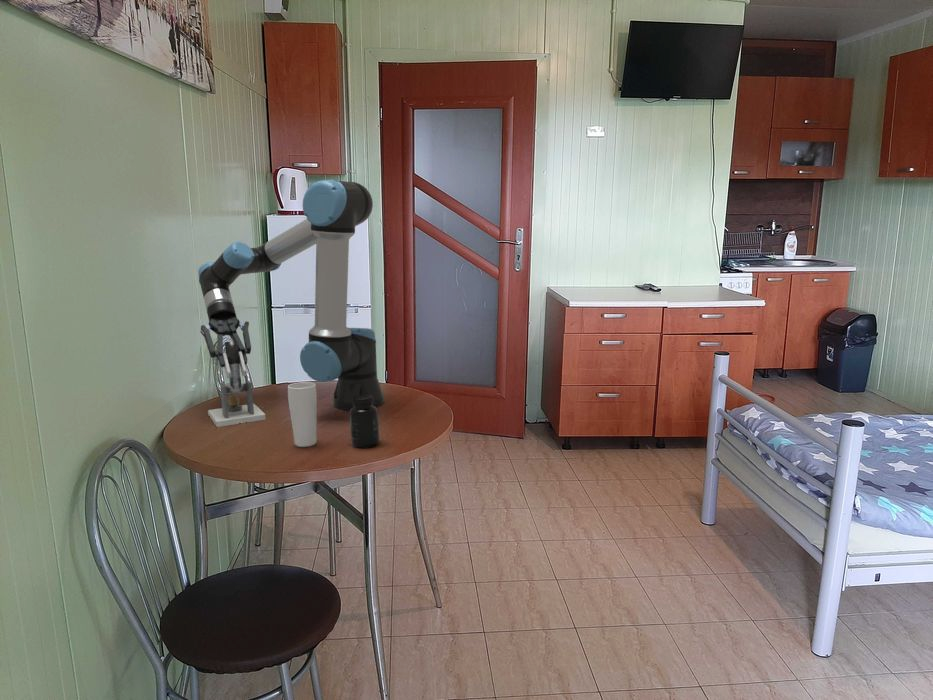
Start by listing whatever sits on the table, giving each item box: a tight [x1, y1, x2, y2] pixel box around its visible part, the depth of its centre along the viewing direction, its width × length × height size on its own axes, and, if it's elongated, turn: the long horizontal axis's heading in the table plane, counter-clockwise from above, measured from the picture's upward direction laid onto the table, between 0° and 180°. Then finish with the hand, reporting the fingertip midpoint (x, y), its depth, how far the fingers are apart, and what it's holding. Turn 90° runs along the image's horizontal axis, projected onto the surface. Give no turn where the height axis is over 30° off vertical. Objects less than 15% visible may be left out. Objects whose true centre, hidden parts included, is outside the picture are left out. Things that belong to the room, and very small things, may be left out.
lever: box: [224, 340, 247, 395], centre depth 191 cm, size 10×5×14 cm, turn 29°
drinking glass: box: [287, 381, 318, 448], centre depth 166 cm, size 7×7×15 cm
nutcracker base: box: [207, 379, 267, 428], centre depth 192 cm, size 14×13×10 cm
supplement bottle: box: [349, 395, 380, 449], centre depth 166 cm, size 7×7×12 cm
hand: (236, 374), depth 186 cm, fingers closed on lever, 3 cm apart
